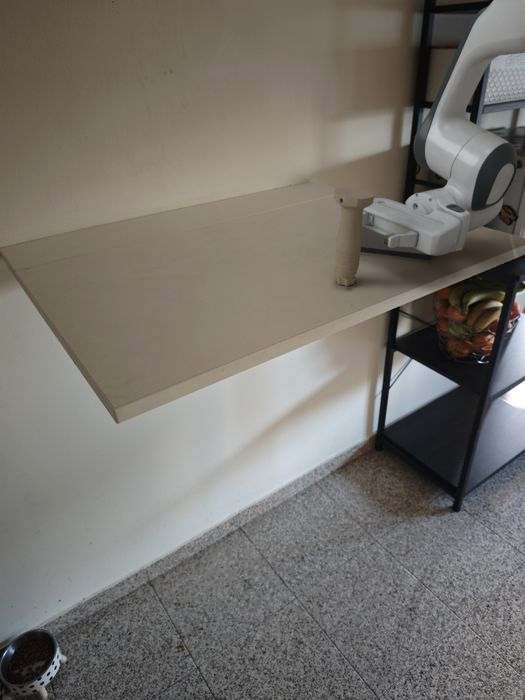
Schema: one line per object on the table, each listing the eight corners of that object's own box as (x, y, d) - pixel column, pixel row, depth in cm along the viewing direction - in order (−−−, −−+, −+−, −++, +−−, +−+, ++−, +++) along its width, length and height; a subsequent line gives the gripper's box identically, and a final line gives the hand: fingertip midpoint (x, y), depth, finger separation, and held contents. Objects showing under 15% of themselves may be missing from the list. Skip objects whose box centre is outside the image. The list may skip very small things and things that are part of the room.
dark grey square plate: (433, 227, 106) (433, 222, 105) (429, 259, 91) (430, 254, 91) (357, 219, 110) (358, 215, 109) (342, 249, 95) (343, 245, 95)
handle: (343, 272, 87) (352, 185, 79) (369, 286, 82) (380, 195, 74) (321, 279, 85) (328, 190, 76) (346, 293, 80) (356, 200, 72)
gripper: (387, 185, 92) (328, 197, 86) (479, 215, 78) (416, 232, 72) (382, 218, 96) (325, 232, 90) (470, 253, 81) (409, 272, 75)
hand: (366, 232), depth 81 cm, fingers open, 8 cm apart
